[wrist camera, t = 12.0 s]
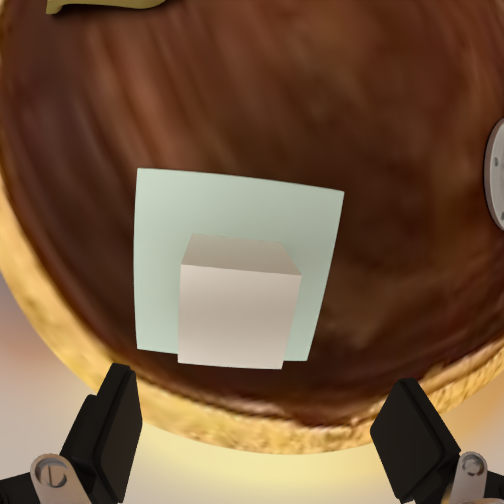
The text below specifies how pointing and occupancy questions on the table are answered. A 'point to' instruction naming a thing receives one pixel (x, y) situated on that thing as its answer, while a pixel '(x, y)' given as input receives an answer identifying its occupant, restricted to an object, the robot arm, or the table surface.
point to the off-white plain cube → (236, 302)
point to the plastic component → (101, 3)
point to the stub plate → (229, 225)
